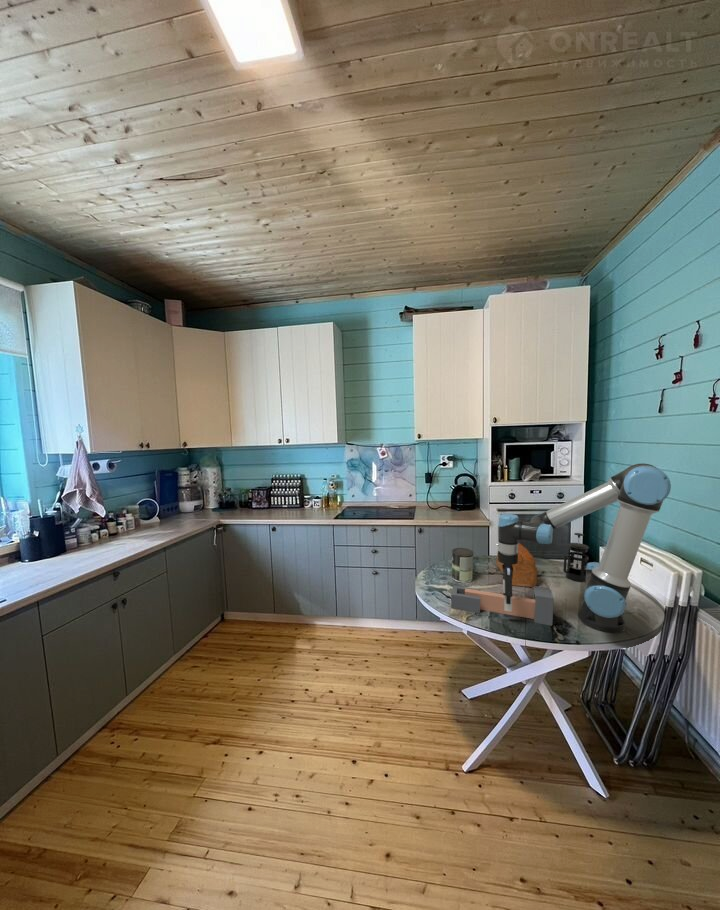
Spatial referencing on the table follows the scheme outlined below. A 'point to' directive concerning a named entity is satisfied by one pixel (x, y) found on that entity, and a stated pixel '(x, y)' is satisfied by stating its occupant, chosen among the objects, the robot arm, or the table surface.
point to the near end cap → (543, 605)
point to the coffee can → (462, 565)
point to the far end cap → (464, 600)
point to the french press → (575, 569)
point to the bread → (523, 568)
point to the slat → (496, 603)
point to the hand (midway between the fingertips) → (507, 602)
